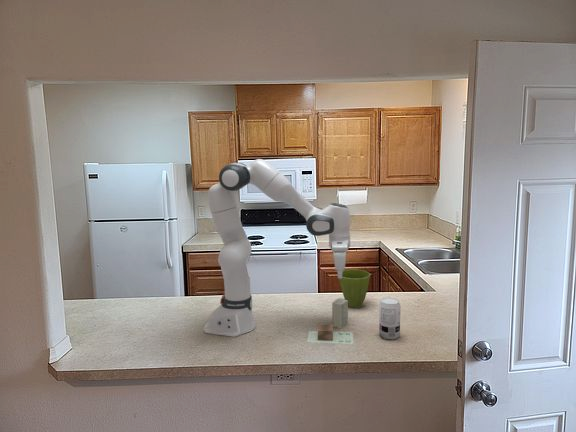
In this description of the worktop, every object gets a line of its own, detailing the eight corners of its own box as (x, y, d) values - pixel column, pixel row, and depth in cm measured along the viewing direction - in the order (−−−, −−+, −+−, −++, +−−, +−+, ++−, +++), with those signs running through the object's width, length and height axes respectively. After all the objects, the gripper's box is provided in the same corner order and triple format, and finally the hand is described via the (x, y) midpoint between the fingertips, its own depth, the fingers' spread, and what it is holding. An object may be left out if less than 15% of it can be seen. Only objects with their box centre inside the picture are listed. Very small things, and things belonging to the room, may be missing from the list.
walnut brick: (317, 340, 161) (317, 330, 160) (318, 333, 167) (318, 324, 166) (332, 340, 160) (332, 331, 159) (333, 333, 166) (332, 324, 165)
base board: (307, 345, 159) (307, 340, 159) (309, 334, 169) (309, 329, 169) (353, 347, 157) (353, 342, 157) (352, 335, 167) (352, 330, 167)
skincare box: (339, 324, 178) (339, 297, 176) (348, 326, 176) (348, 300, 174) (331, 329, 174) (331, 302, 172) (340, 331, 171) (340, 304, 169)
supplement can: (375, 333, 169) (375, 299, 166) (392, 329, 171) (392, 296, 169) (386, 341, 161) (387, 306, 159) (404, 337, 164) (404, 302, 161)
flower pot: (332, 305, 200) (332, 274, 197) (351, 297, 209) (351, 267, 207) (356, 313, 189) (356, 280, 186) (375, 304, 199) (376, 273, 196)
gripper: (332, 236, 179) (332, 267, 181) (331, 248, 159) (332, 282, 161) (346, 236, 178) (346, 267, 180) (347, 248, 158) (348, 282, 160)
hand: (339, 274), depth 171 cm, fingers open, 8 cm apart
